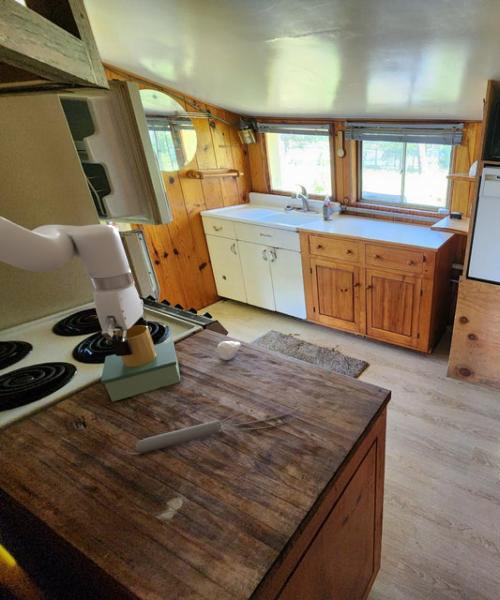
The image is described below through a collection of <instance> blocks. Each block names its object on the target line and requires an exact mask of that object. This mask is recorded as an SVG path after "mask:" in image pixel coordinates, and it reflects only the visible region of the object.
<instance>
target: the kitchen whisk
mask: <svg viewBox="0 0 500 600" xmlns="http://www.w3.org/2000/svg"><path fill="white" fill-rule="evenodd" d="M286 397H287V398H292V399H294V400H295V401H286V402H285V401H284V402H280V403H275V404H272V405H268V406H265V407H261V408H257V409H254V410H252V411H248V412H247V413H244V414H241V413H242V412H243V411H246V410H248V409H249V410H250V409H251V408H252V407H255V406H257V405H260V404H263V403H265V402H269V401H271V400H276V399H279V398H286ZM291 404H297V407H296V408H295V409H293V410H290V411H288V412H285V413H281V414H278V415H275V416H270V417H267V418H262V419H257V420H253V421H248V422H242V423H236V424H229V425H225V424H227V423H230V422H233V421H236V420H239V419H242V418H244V417H247V416H251V415H254V414H257V413H260V412H262V411H267V410H269V409H273V408H278V407H281V406H286V405H291ZM296 411H297V412H296ZM300 411H301V403H300V401H299V399H297V398H296V397H295V396H292V395H291V396H290V395H280V396H279V395H277V396H273V397H270V398H267V399H264V400H262V401H259V402H256V403H254V404H251V405H250V406H247V407H246V408H243V409H241V410H239V411H237V412H235V413H233V414H231V415H229V416H228V417H226V418H224V419H222V420H220V419H217V420H213V421H208V422H205V423H200V424H197V425H193V426H189V427H184V428H181V429H177V430H173V431H169V432H165V433H162V434H157V435H154V436H149V437H146V438H143V439H142V440H140V439H137V440H135V441H133V442H130V443H129V444H128V445H126V448H125V452H126V453H127V454H129V455H141V454H143V453H148V452H152V451H157V450H159V449H162V448H166V447H170V446H174V445H178V444H181V443H185V442H189V441H194V440H197V439H201V438H204V437H209V436H212V435H215V434H216V435H217V434H220V433H221V431H223V430H225V431H237V430H238V431H240V430H241V431H242V430H243V431H244V430H246V428H227V427H234V426H235V427H236V426H241V425H247V424H253V423H254V424H255V423H259V422H264V421H268V420H273V419H278V418H281V417H284V416H287V415H290V414H292V413H294V412H296V414H295V415H294V416H293V417H292V418H291V419H289V420H288V421H285V422H282V423H278V424H274V425H268V426H261V427H252V428H247V430H259V429H266V428H271V427H276V426H280V425H283V424H286V423H289V422H290V421H292V420H293V419H295V418H296V417H297V416H298V414H299V413H300ZM238 414H241V415H239V416H236V415H238ZM234 416H235V417H234ZM232 417H233V418H232ZM230 418H231V419H230ZM228 419H229V420H228ZM223 425H224V426H223ZM134 443H136V445H135V449H136V453H135V452H134V453H133V452H129V451H128V447H130V445H132V444H134Z"/></svg>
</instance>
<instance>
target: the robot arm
mask: <svg viewBox="0 0 500 600" xmlns="http://www.w3.org/2000/svg"><path fill="white" fill-rule="evenodd" d="M75 258H80V261H81V263H82V266H83V269H84V271H85V274H86V276H87V279H88V282H89V285H90V287H91V289H92V291H93V292H92V295H93V303H94V309H95V311H96V315H97V319H98V322H99V325H100V328H101V335H102V337H104V338H105V340H106V341H107V342H108V343H109V344H111V346H112V349H113V351H114V355H115V354H116V356H125V355H131V354H132V353H133V352H132V349H131V346H130V343H129V340H128V339H127V340H126V330H128V329H129V328H130V327H131V326H137V325H143V326H147V327H148V328H149V325H148V321H147V316H146V315H147V314H145V307H144V300H143V299H142V298H141V297H140V295H139V293H138V290H137V288H136V286H135V280H134V276H133V273H132V270H131V268H130V263H129V261H128V257H127V255H126V251H125V248H124V245H123V241H122V238H121V235H120V231H119V230H118V228H116V227H115V226H113V225H111V224H105V223H104V224H103V223H101V224H100V223H98V224H87V225H67V224H65V225H64V224H44V225H40V226H38V227H35V228H33V229H32V230H30V229H28V228H25V227H23V226H21V225H19V224H18V223H14V222H13V221H11V220H8V219H6V218H5V217H3V216H1V215H0V262H2V263H5V264H7V265H10V266H12V267H16V268H18V269H21V270H25V271H29V272H33V273H51V272H55V271H57V270H59V269H61V268H63V267H64V266H65V265H66V264H67V263H68V262H69V261H71V260H73V259H75ZM116 332H121V335H120V336H118V335H115V333H116ZM149 332H150V333H151V331H150V330H149Z"/></svg>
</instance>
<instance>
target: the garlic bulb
mask: <svg viewBox="0 0 500 600" xmlns="http://www.w3.org/2000/svg"><path fill="white" fill-rule="evenodd" d="M241 346H242V344H241V343H240V342H239V341H233V340H224V341H221V342H219V343H218V345H217V347H216V352H217V354H218V356H219V357H220V359H221V358H222V359H223V360H226V361H229V360H232V359H233V358H234V357H235V356H236V354H237V352H238V351H239V349H240V347H241Z"/></svg>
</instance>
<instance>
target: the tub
mask: <svg viewBox="0 0 500 600" xmlns="http://www.w3.org/2000/svg"><path fill="white" fill-rule="evenodd" d="M154 347H155V350H156V353H157V356H156V358H155V359H154V360H152V361H151V362H149V363H147V364H144V365H141V366H136V367H128V366H125V365H124V363H123V361H122V358H121V356H116V354H115V353H114V354H111V355H106V356H105V358H104V363H103V368H102V374H101V380H100V382H101V385H104V387H105V389H106V391H107V393H108V395H109V398H110V401H111V402H116V401H120V400H123V399H126V398H130V397H133V396H137V395H140V394H143V393H146V392H151V391H153V390H157V389H160V388H165V387H166V386H167V387H168V386H171V385H175V384H177V383H181V376H180V368H179V361H178V358H177V354H176V349H175V342H174V340H171V341H170V340H169V341H167V342H162V343H157V344H154Z"/></svg>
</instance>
